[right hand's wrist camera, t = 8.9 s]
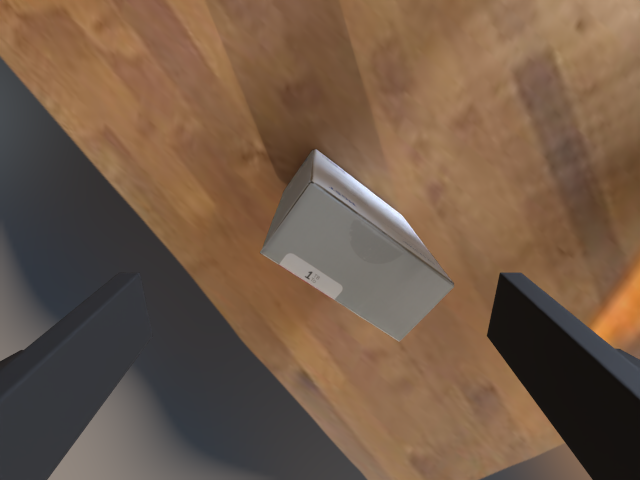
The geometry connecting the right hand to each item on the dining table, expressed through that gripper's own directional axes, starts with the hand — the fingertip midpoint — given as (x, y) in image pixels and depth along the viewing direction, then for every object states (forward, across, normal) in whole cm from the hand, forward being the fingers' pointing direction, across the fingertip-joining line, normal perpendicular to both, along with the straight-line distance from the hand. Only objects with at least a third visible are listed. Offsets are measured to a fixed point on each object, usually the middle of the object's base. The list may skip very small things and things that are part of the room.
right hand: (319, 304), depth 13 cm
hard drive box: (+35, +3, -5) cm, 35 cm away
